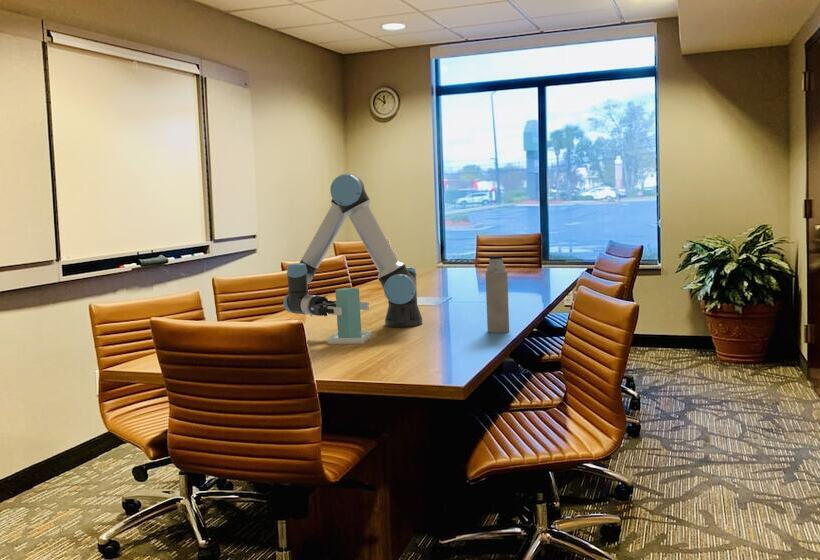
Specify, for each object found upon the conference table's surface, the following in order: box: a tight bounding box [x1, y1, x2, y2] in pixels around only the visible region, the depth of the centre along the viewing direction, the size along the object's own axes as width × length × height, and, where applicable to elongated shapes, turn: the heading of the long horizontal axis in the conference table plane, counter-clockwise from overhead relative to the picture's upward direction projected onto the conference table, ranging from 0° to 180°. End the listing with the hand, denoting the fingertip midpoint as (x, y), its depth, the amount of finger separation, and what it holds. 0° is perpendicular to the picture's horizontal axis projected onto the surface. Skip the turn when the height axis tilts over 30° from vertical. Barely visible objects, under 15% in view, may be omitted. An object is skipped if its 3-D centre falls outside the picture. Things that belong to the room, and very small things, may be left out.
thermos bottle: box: [485, 255, 510, 334], centre depth 274 cm, size 8×8×28 cm
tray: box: [326, 330, 373, 345], centre depth 271 cm, size 13×13×2 cm
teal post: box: [335, 287, 362, 338], centre depth 270 cm, size 6×6×18 cm
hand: (354, 308), depth 267 cm, fingers open, 13 cm apart
